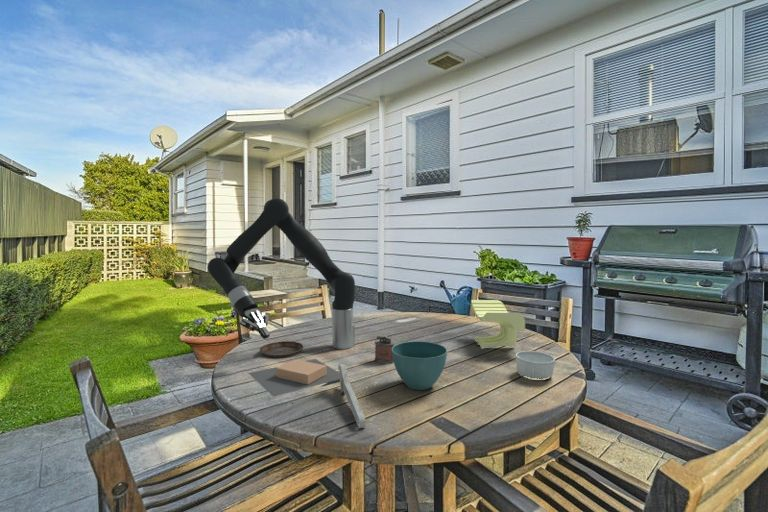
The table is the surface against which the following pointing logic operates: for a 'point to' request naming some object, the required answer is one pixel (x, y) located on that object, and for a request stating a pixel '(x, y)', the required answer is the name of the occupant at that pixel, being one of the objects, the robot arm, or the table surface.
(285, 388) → the mat
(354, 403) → the wrench
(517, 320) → the slatted curved stool
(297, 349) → the plant saucer
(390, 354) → the lighter
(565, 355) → the table surface
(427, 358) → the teal bowl
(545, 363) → the ramekin
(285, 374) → the tan rectangular block
